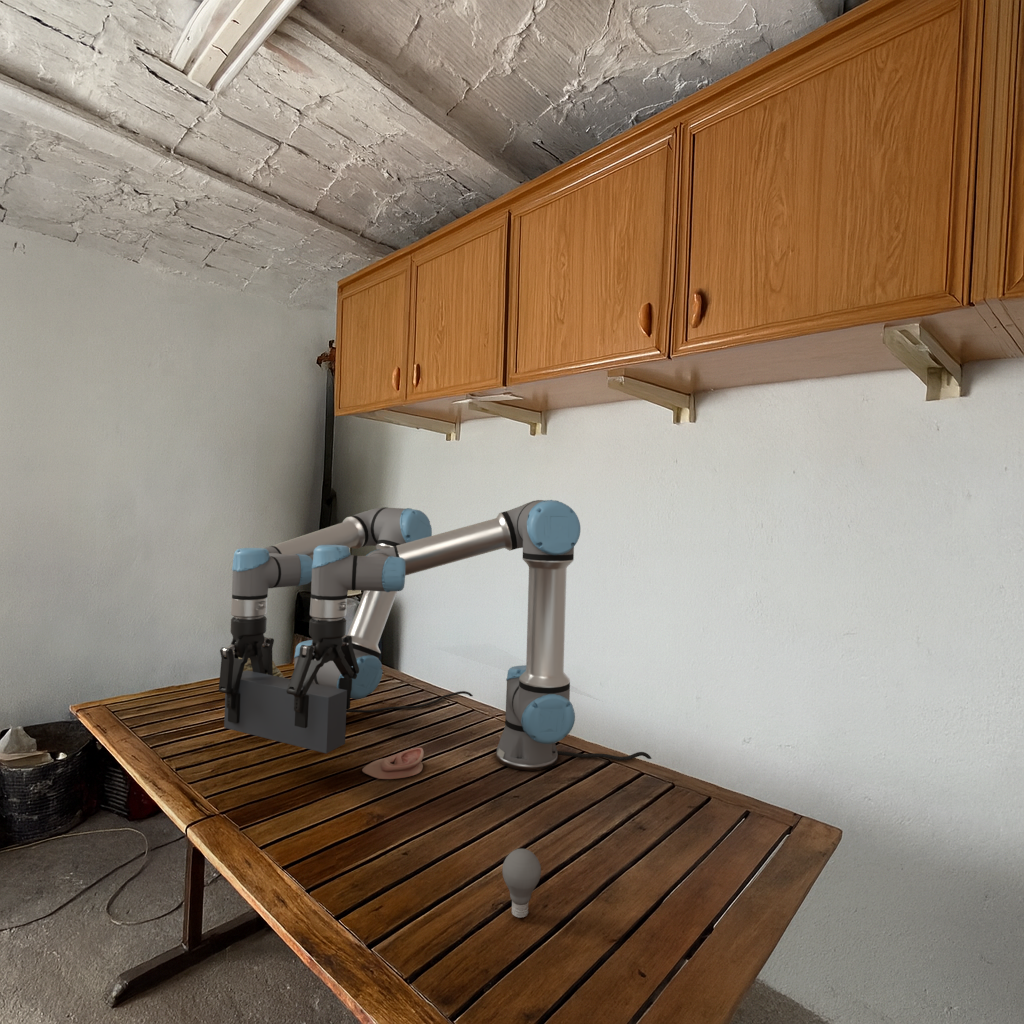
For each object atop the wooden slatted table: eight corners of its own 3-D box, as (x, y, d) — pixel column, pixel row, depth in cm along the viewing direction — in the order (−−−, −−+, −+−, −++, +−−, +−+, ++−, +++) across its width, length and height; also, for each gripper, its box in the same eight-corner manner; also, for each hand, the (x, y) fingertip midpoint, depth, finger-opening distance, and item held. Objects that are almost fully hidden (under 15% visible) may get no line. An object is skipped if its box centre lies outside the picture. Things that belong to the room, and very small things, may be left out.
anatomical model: (356, 758, 144) (377, 740, 155) (356, 775, 144) (376, 756, 155) (412, 766, 141) (429, 746, 152) (411, 783, 141) (428, 763, 153)
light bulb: (499, 902, 101) (501, 840, 101) (536, 902, 101) (539, 840, 101) (501, 928, 95) (504, 862, 95) (541, 927, 95) (544, 862, 95)
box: (224, 727, 143) (225, 676, 143) (245, 719, 148) (246, 670, 148) (326, 753, 131) (328, 697, 131) (345, 743, 137) (347, 690, 137)
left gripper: (227, 625, 134) (223, 733, 134) (292, 612, 151) (288, 708, 151) (201, 620, 137) (197, 727, 137) (268, 608, 154) (264, 702, 154)
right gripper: (300, 629, 122) (295, 739, 122) (377, 611, 145) (373, 703, 145) (270, 624, 125) (265, 731, 125) (351, 607, 148) (346, 698, 148)
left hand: (245, 717), depth 144 cm, fingers closed on box, 6 cm apart
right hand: (323, 716), depth 135 cm, fingers open, 13 cm apart
